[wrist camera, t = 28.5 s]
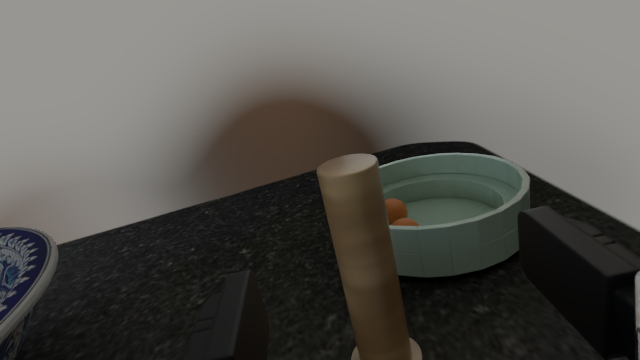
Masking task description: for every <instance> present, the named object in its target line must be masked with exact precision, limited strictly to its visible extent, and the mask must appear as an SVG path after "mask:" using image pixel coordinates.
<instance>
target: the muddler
mask: <svg viewBox="0 0 640 360" xmlns="http://www.w3.org/2000/svg"><path fill="white" fill-rule="evenodd" d="M317 176H318V180H319V184H320V189H321V193H322V197H323V202H324V206H325V210H326V215H327V219H328V223H329V228H330V232H331V236H332V241H333V245H334V249H335V254H336V258H337V262H338V267H339V271H340V275H341V280H342V284H343V288H344V292H345V297H346V301H347V305H348V310H349V314H350V318H351V323H352V327H353V331H354V336H355V340H356V344H357V346H356V348H355V349H354V351H353V353H352V357H351V360H423V357H422V352H421V349H420V347H419V346H418V344H417V343H416V342H415V341H414V340H413V339H412V338H410V337H409V334H408V329H407V323H406V317H405V312H404V306H403V300H402V295H401V289H400V283H399V278H398V272H397V266H396V261H395V255H394V249H393V244H392V238H391V232H390V227H389V221H388V215H387V210H386V204H385V198H384V193H383V187H382V181H381V176H380V170H379V164H378V159H377V158H376V157H375V156H373V155H370V154H351V155H345V156H341V157H337V158H334V159H332V160H329V161H327V162H325V163H323V164H322V165H321V166H319V167H318V169H317Z"/></svg>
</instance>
